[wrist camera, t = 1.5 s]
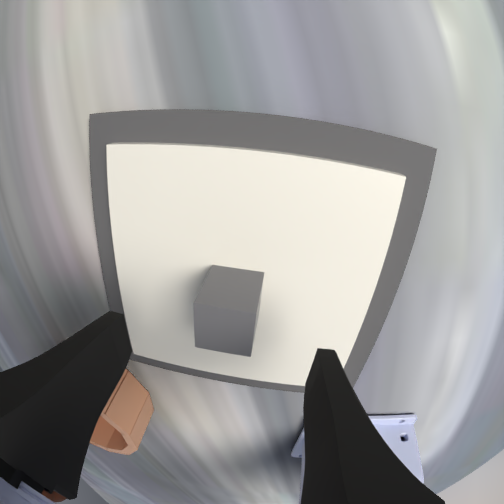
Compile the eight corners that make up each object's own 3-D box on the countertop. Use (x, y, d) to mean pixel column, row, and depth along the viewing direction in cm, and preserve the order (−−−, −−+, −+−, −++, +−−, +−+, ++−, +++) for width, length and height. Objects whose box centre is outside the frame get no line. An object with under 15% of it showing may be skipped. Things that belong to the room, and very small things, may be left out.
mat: (432, 147, 11) (436, 148, 10) (347, 390, 18) (348, 395, 18) (95, 113, 12) (89, 114, 12) (125, 352, 19) (122, 357, 19)
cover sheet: (401, 173, 11) (437, 197, 8) (333, 381, 17) (336, 427, 14) (113, 142, 12) (64, 157, 9) (137, 347, 18) (114, 386, 15)
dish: (141, 363, 20) (116, 410, 16) (160, 428, 24) (146, 465, 20) (42, 328, 20) (14, 361, 16) (75, 397, 25) (57, 427, 21)
